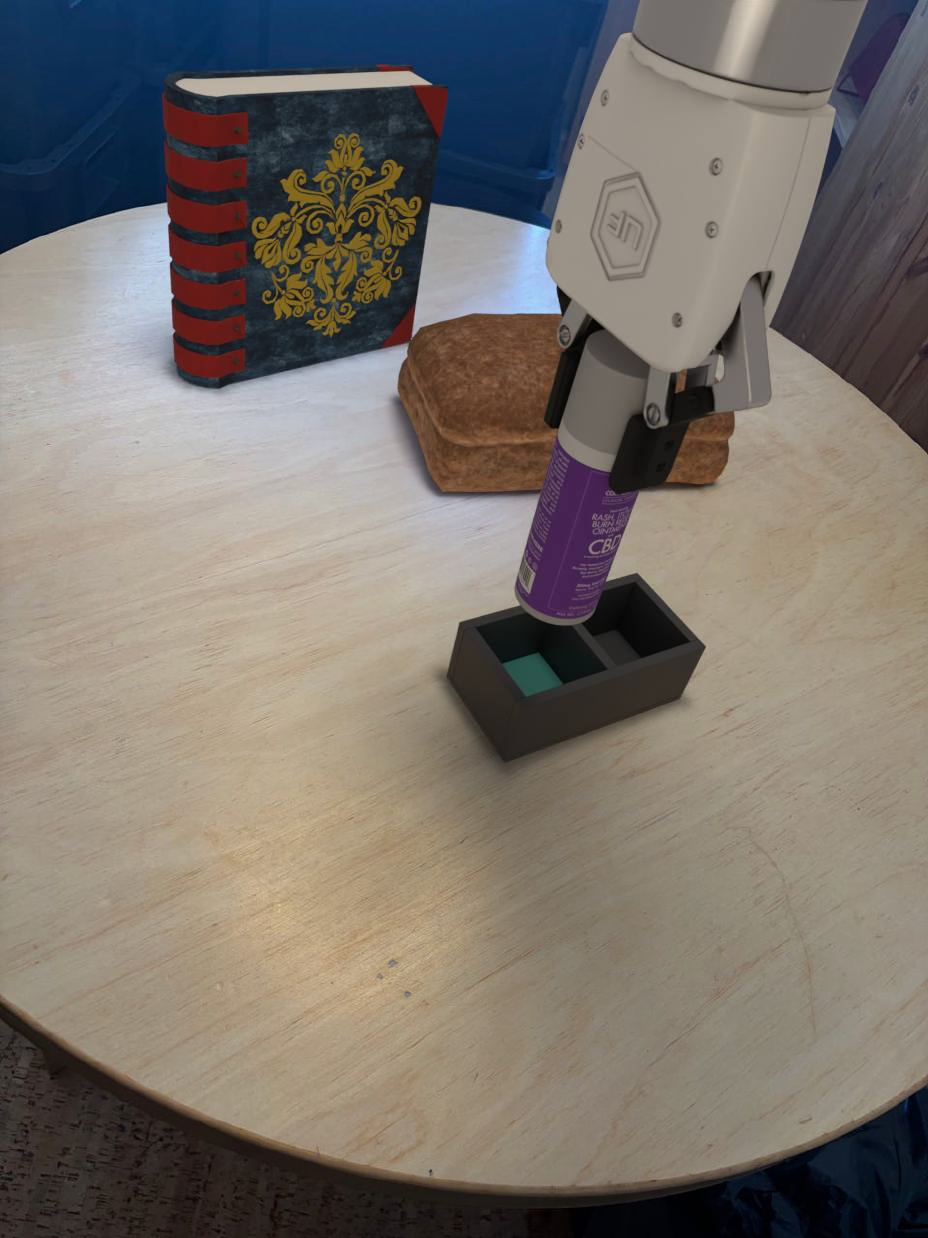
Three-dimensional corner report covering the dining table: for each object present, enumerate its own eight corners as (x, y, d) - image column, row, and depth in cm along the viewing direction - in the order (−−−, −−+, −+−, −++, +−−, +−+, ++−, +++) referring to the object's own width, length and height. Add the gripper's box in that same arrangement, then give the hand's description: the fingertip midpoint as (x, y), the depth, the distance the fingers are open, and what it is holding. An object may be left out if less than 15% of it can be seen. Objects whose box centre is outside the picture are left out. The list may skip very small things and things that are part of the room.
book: (195, 396, 86) (188, 101, 69) (159, 358, 90) (144, 68, 73) (414, 344, 100) (454, 87, 83) (376, 313, 104) (407, 60, 86)
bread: (725, 491, 90) (773, 386, 82) (429, 501, 81) (451, 384, 73) (654, 393, 101) (689, 292, 94) (386, 392, 92) (401, 280, 84)
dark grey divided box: (680, 698, 69) (706, 646, 66) (504, 762, 62) (522, 709, 59) (616, 624, 74) (637, 571, 70) (445, 676, 67) (458, 621, 63)
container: (572, 639, 50) (660, 393, 40) (498, 597, 52) (565, 349, 42) (610, 594, 54) (700, 356, 43) (539, 556, 55) (611, 316, 45)
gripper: (528, -46, 37) (451, 372, 49) (842, 115, 27) (648, 582, 40) (673, -31, 40) (567, 356, 53) (997, 116, 31) (774, 546, 43)
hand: (603, 450), depth 46 cm, fingers closed on container, 4 cm apart
